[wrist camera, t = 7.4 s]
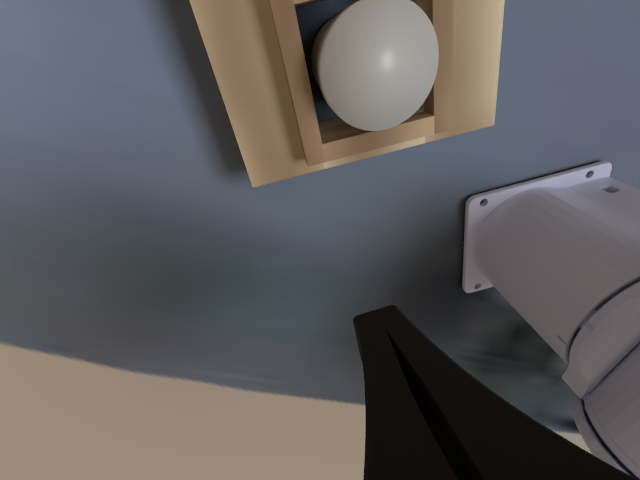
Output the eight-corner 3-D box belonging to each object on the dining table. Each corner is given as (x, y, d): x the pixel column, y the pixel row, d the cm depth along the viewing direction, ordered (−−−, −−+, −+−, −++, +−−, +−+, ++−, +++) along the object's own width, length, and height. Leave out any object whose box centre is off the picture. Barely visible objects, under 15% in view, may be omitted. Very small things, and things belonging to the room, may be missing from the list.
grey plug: (391, -8, 15) (438, -20, 11) (399, 97, 17) (439, 115, 14) (294, 15, 15) (308, 11, 11) (315, 118, 17) (332, 143, 13)
